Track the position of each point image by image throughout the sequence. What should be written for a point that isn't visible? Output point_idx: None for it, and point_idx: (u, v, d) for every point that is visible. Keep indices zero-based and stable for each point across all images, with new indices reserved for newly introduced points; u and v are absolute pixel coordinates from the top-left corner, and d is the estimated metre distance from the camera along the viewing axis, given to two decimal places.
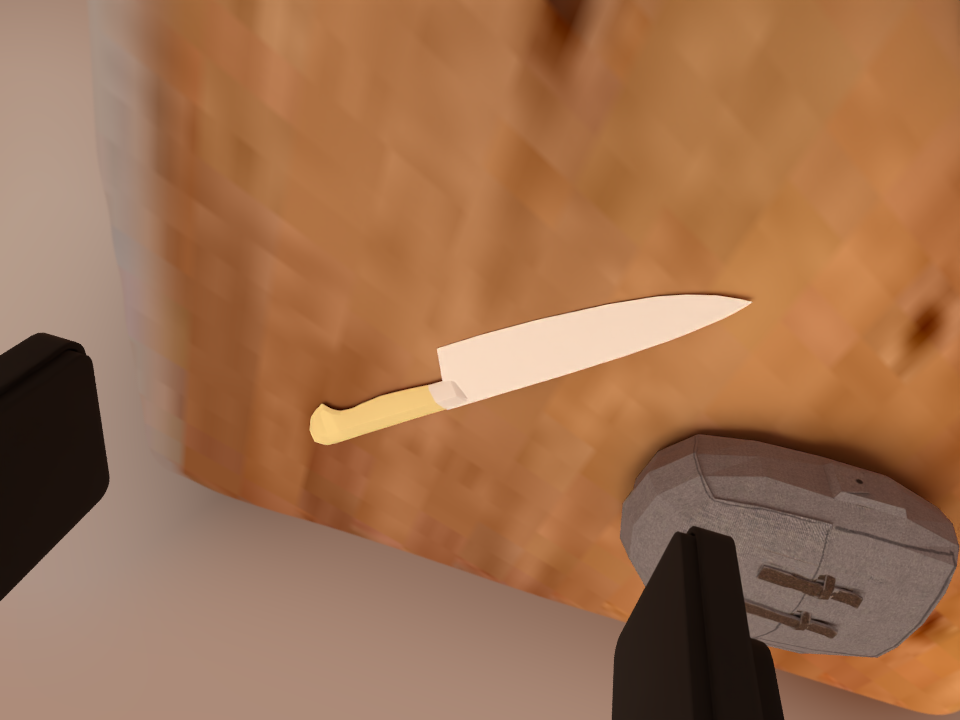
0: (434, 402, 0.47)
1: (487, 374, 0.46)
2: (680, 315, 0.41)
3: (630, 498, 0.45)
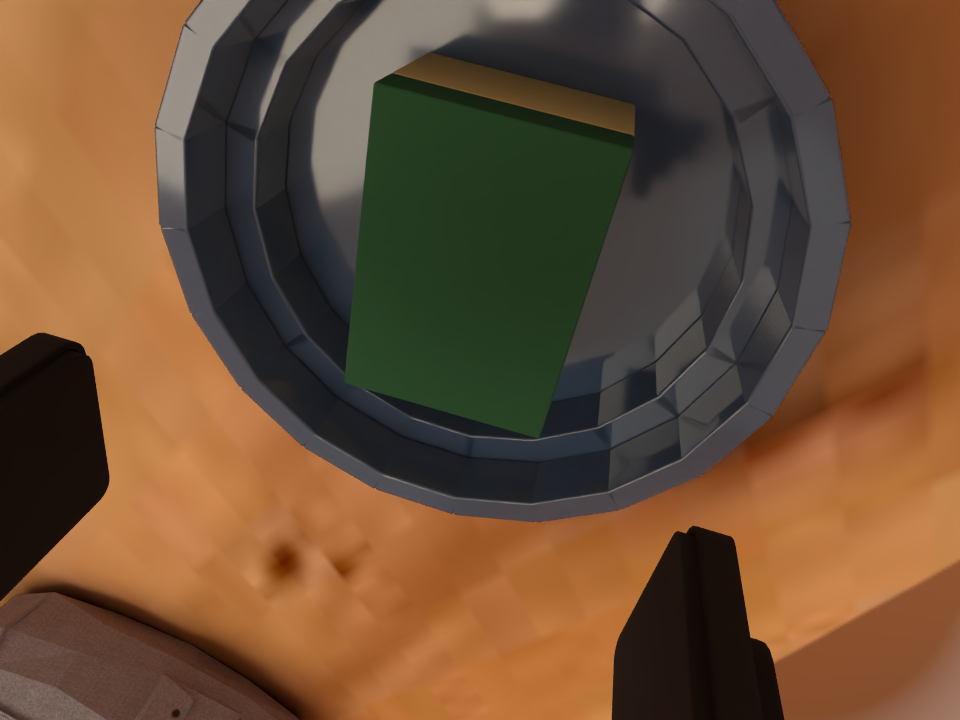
0: None
1: None
2: None
3: None
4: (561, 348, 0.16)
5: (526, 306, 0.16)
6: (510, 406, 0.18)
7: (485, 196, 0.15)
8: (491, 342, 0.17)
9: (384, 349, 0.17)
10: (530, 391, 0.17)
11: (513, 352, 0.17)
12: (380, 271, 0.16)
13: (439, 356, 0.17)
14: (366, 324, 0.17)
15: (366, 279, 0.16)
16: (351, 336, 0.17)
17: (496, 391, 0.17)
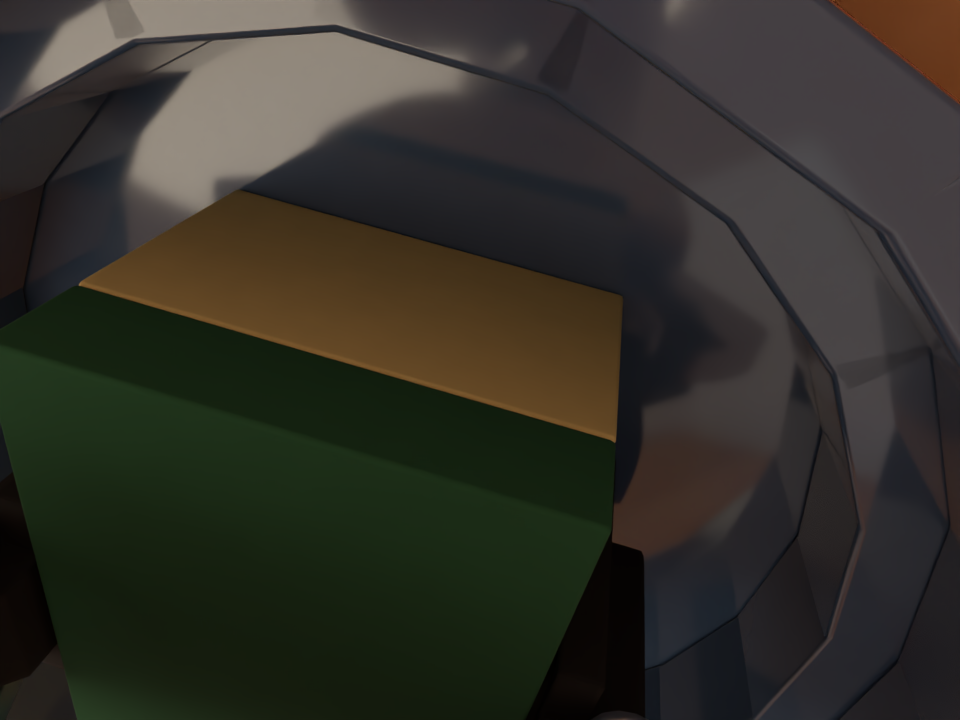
0: None
1: None
2: None
3: None
4: None
5: None
6: None
7: (277, 570, 0.06)
8: None
9: None
10: None
11: None
12: (103, 652, 0.08)
13: None
14: (103, 716, 0.09)
15: (81, 658, 0.08)
16: None
17: None
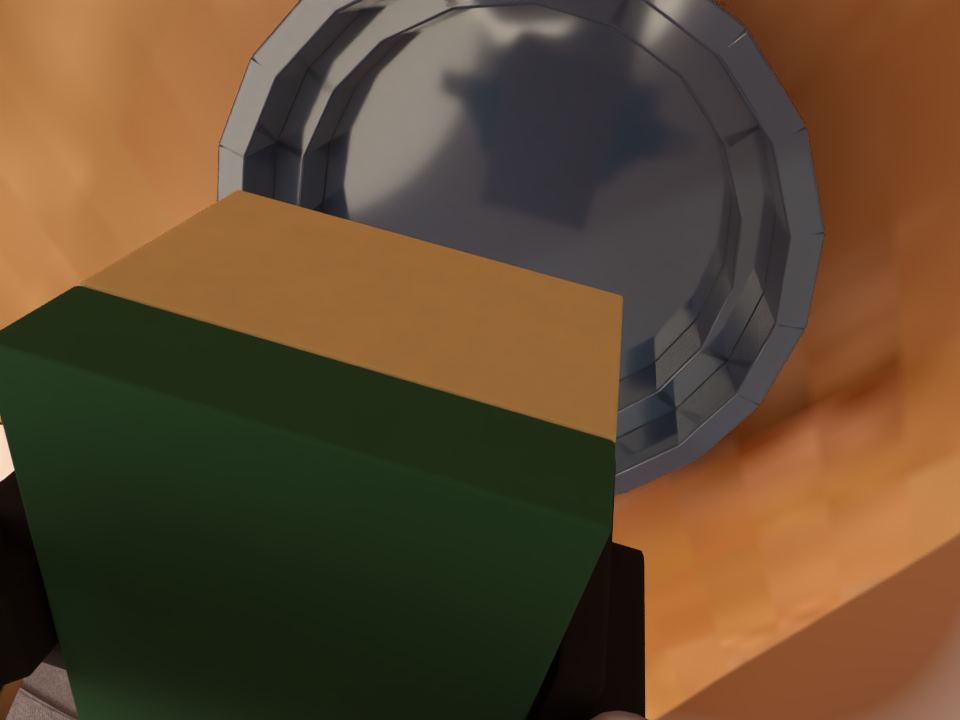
0: None
1: None
2: None
3: None
4: None
5: None
6: None
7: (279, 569, 0.06)
8: None
9: None
10: None
11: None
12: (104, 651, 0.08)
13: None
14: (104, 715, 0.09)
15: (82, 658, 0.08)
16: None
17: None
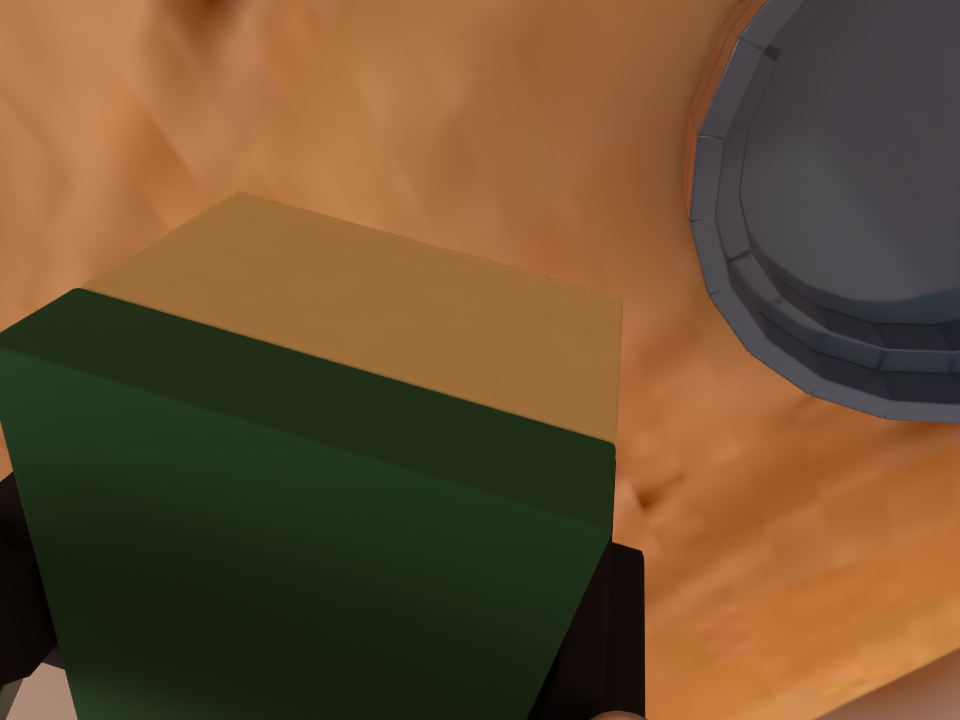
0: None
1: None
2: None
3: None
4: None
5: None
6: None
7: (278, 572, 0.06)
8: None
9: None
10: None
11: None
12: (103, 653, 0.08)
13: None
14: (103, 718, 0.09)
15: (81, 661, 0.08)
16: None
17: None
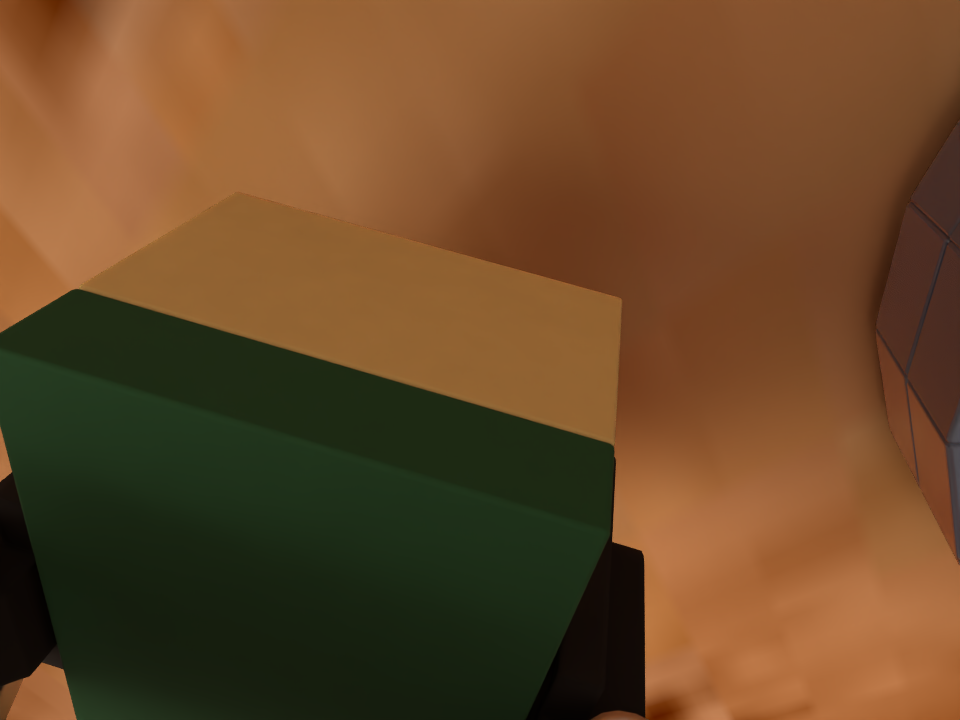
0: None
1: None
2: None
3: None
4: None
5: None
6: None
7: (277, 573, 0.06)
8: None
9: None
10: None
11: None
12: (103, 654, 0.08)
13: None
14: (103, 718, 0.09)
15: (81, 661, 0.08)
16: None
17: None
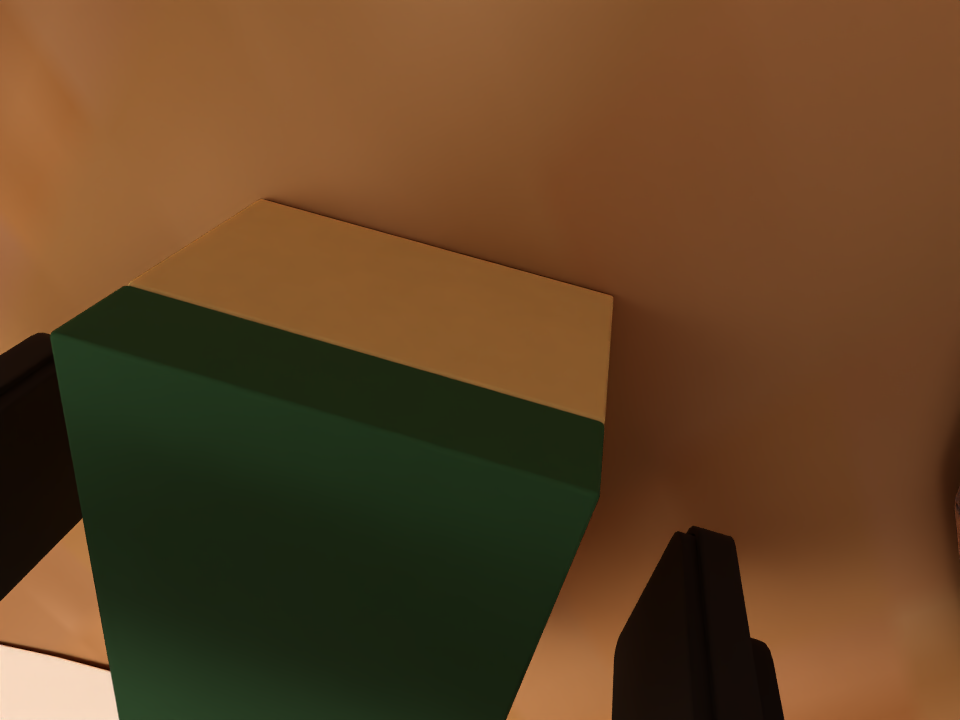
0: None
1: None
2: None
3: None
4: None
5: (407, 696, 0.09)
6: None
7: (305, 537, 0.07)
8: None
9: (175, 715, 0.10)
10: None
11: None
12: (141, 618, 0.09)
13: None
14: (137, 681, 0.10)
15: (120, 626, 0.09)
16: (117, 693, 0.10)
17: None
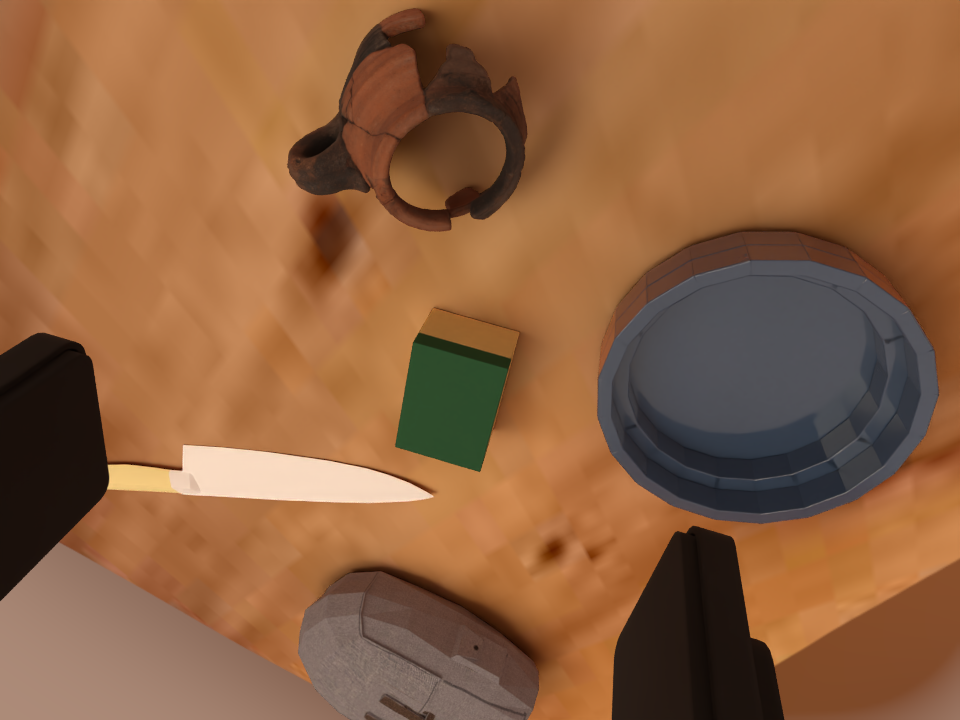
0: (170, 487, 0.53)
1: (221, 478, 0.53)
2: (380, 487, 0.50)
3: (310, 608, 0.54)
4: (486, 435, 0.40)
5: (472, 419, 0.40)
6: (467, 458, 0.41)
7: (454, 380, 0.38)
8: (458, 432, 0.40)
9: (413, 433, 0.41)
10: (475, 452, 0.41)
11: (467, 436, 0.40)
12: (413, 404, 0.40)
13: (437, 437, 0.41)
14: (406, 423, 0.41)
15: (407, 407, 0.40)
16: (399, 428, 0.41)
17: (461, 452, 0.41)
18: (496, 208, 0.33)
